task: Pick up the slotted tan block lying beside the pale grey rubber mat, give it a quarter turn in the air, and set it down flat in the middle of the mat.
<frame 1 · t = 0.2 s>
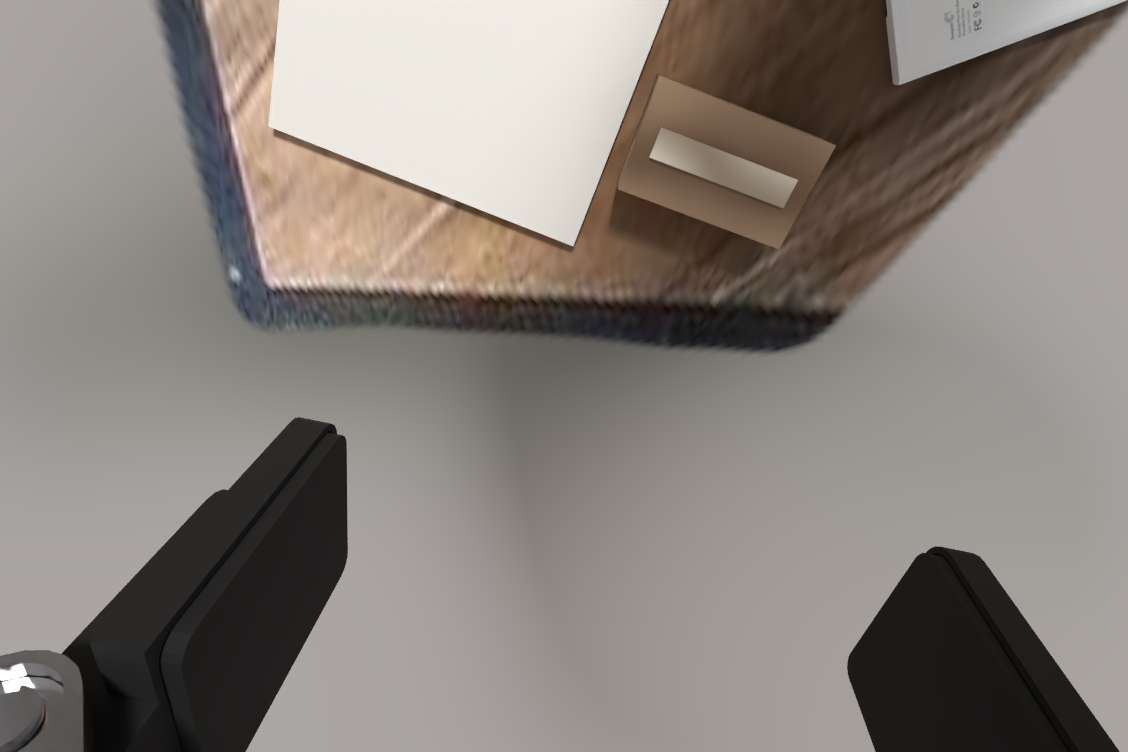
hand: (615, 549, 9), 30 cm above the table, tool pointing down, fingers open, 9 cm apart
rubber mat: (459, 50, 33), on the table
slotted tan block: (714, 157, 35), on the table
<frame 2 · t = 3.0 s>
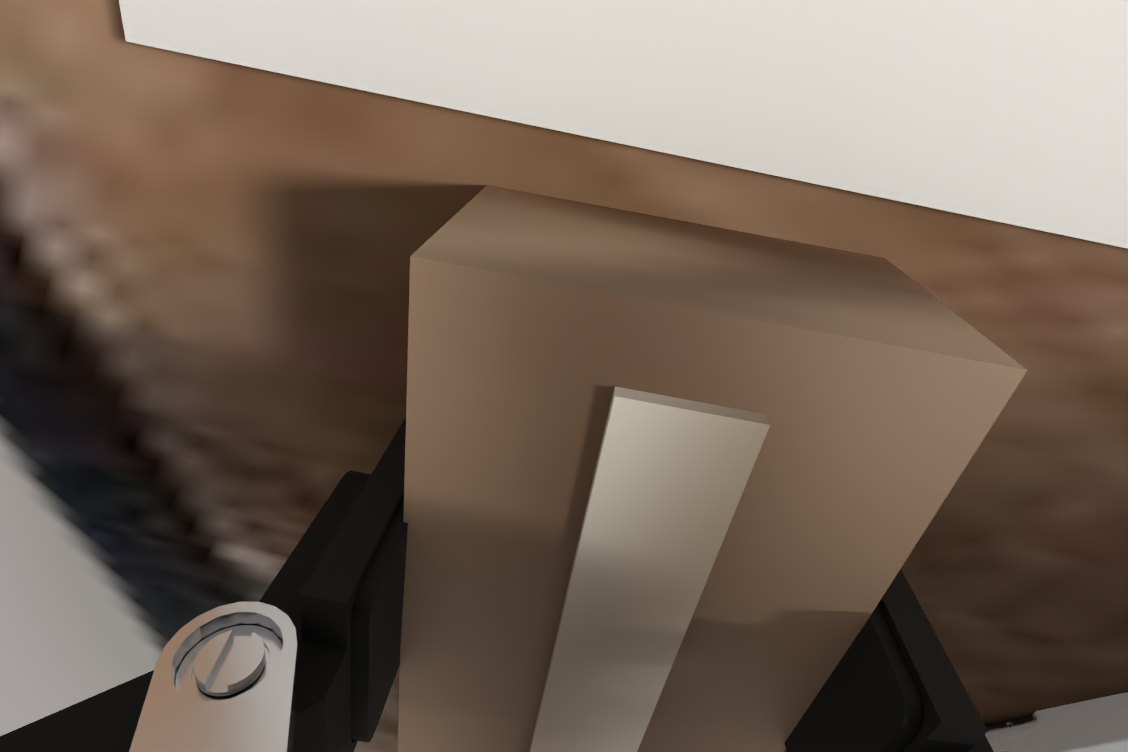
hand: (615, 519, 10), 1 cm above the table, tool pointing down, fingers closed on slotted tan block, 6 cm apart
slotted tan block: (617, 480, 11), on the table, touching gripper
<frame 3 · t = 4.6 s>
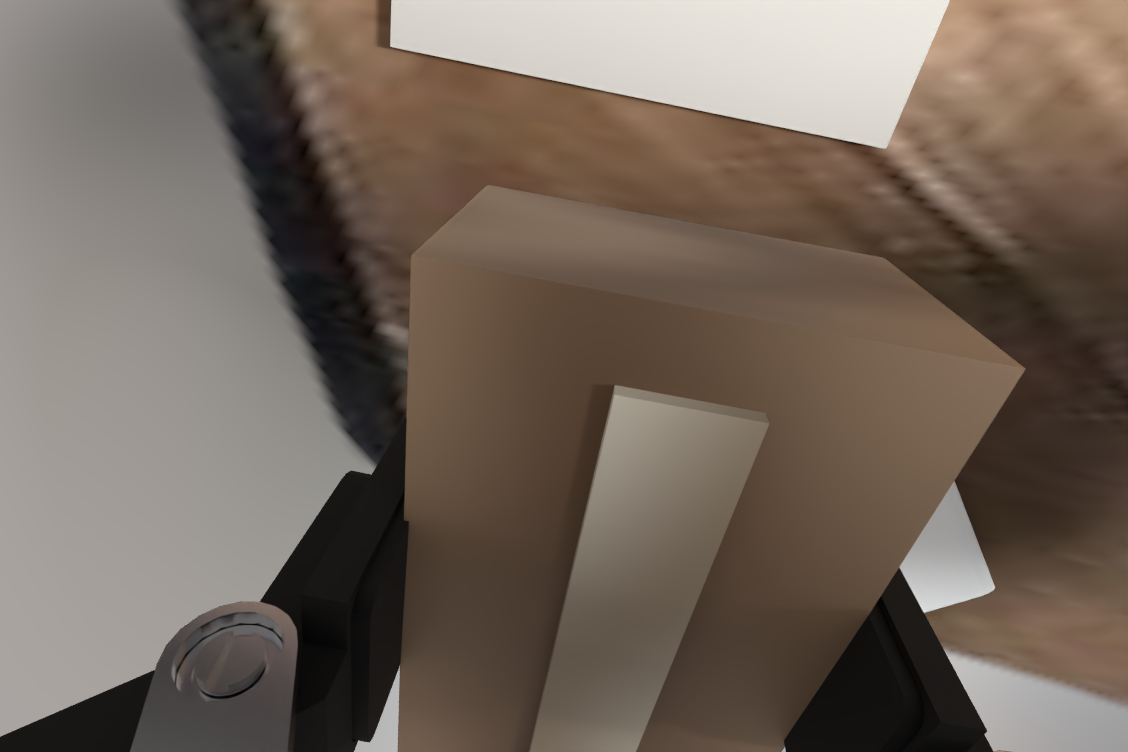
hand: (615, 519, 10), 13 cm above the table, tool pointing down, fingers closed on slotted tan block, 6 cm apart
external hard drive: (852, 506, 27), on the table
slotted tan block: (617, 479, 11), point 12 cm above the table, touching gripper
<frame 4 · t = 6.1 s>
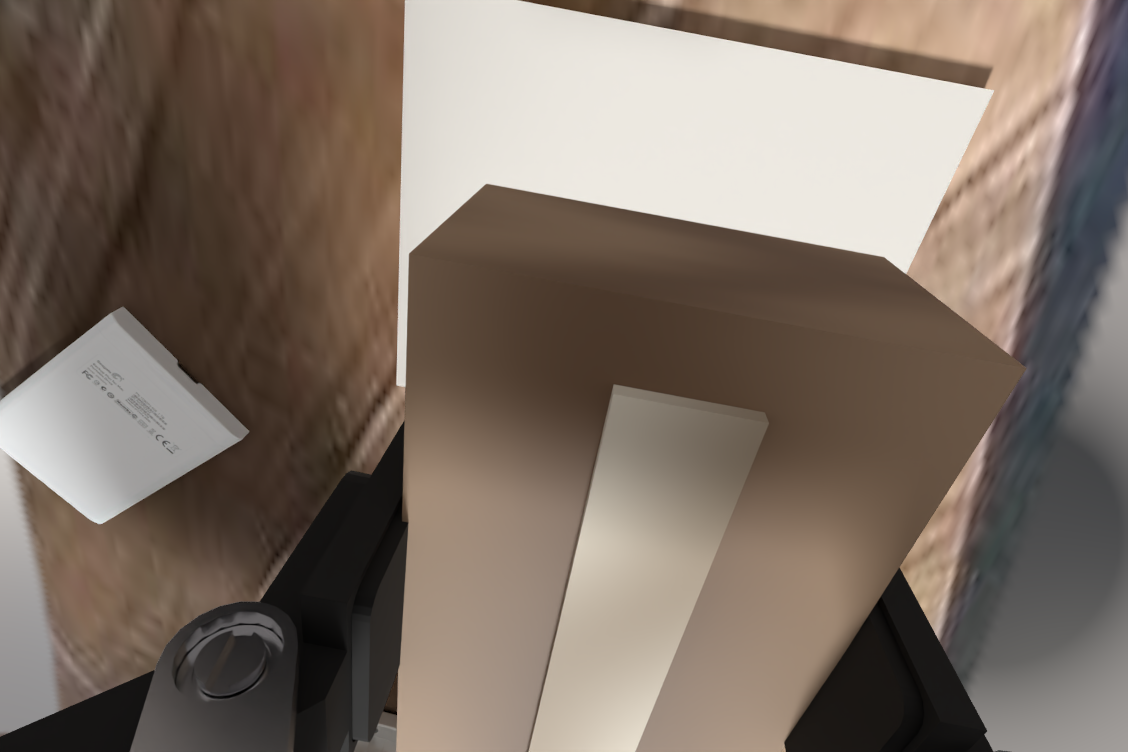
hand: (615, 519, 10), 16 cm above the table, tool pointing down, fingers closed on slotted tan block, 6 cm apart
external hard drive: (127, 414, 31), on the table
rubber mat: (644, 258, 24), on the table
slotted tan block: (616, 478, 11), point 15 cm above the table, touching gripper
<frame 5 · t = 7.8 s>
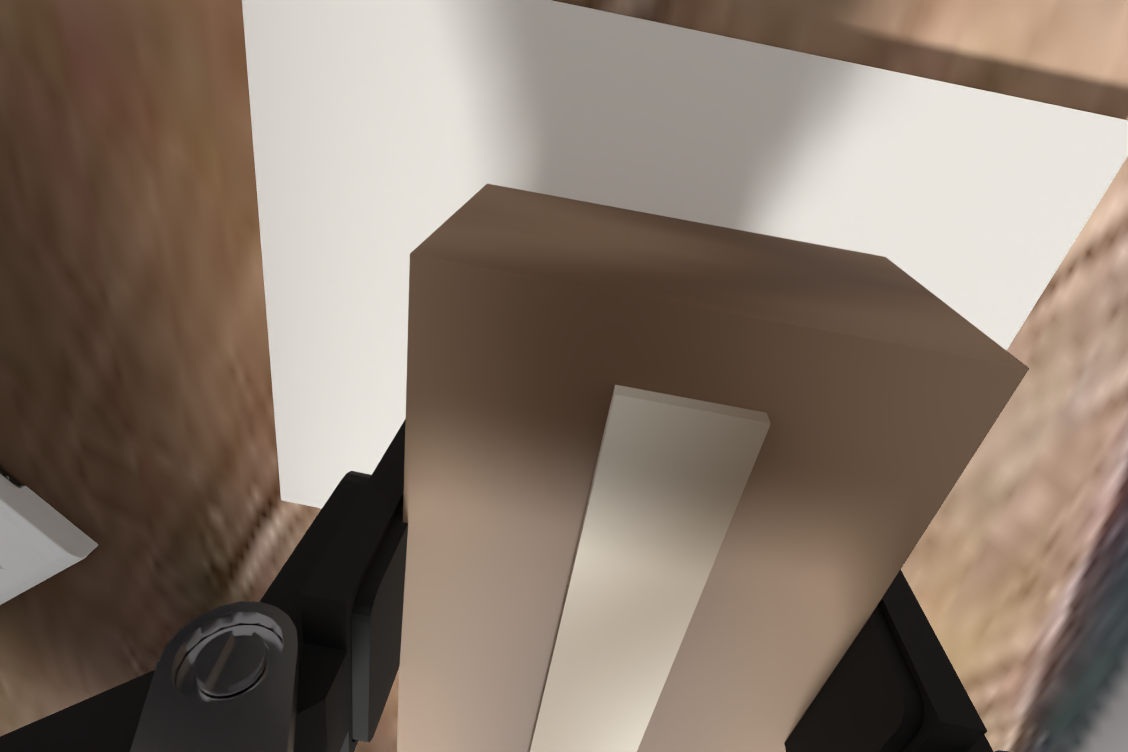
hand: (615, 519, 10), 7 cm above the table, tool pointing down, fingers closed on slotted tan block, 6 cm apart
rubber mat: (614, 346, 17), on the table
slotted tan block: (617, 479, 11), point 6 cm above the table, touching gripper
when the fingers open (3 cm above the table, at t = 9.1 s): slotted tan block drops 1 cm, resting on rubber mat.
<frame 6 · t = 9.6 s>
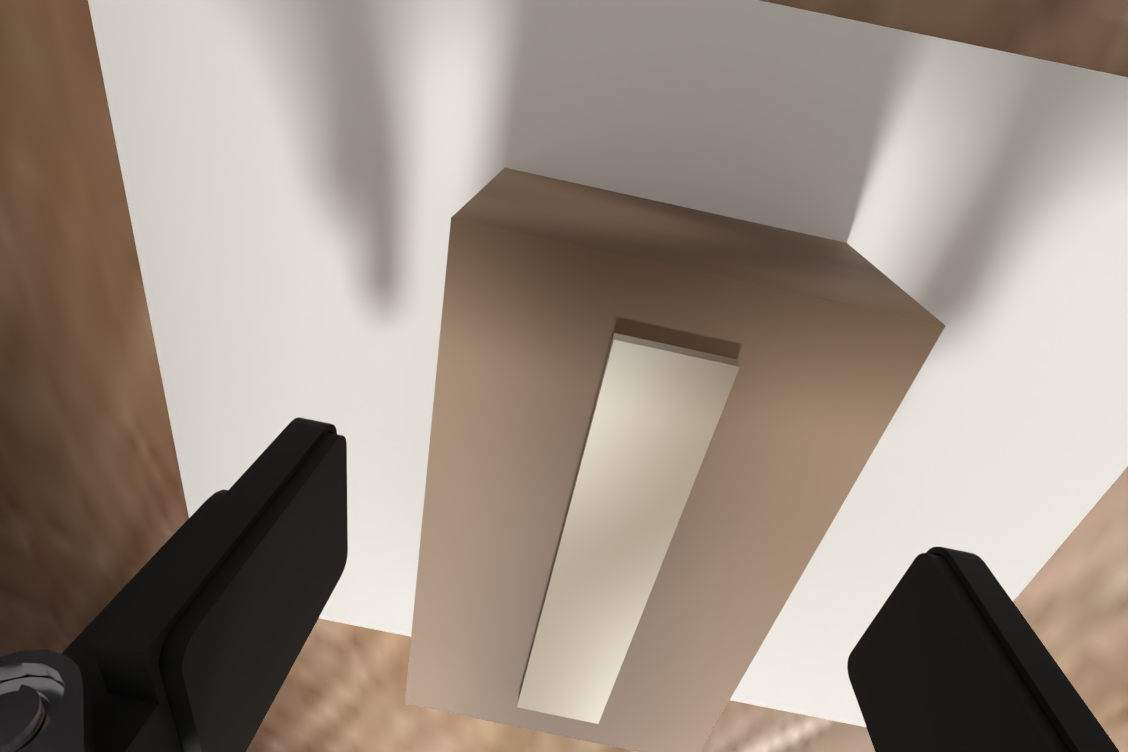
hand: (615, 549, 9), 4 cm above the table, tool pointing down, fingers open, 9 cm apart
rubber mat: (617, 422, 13), on the table
slotted tan block: (609, 438, 12), point 1 cm above the table, touching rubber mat
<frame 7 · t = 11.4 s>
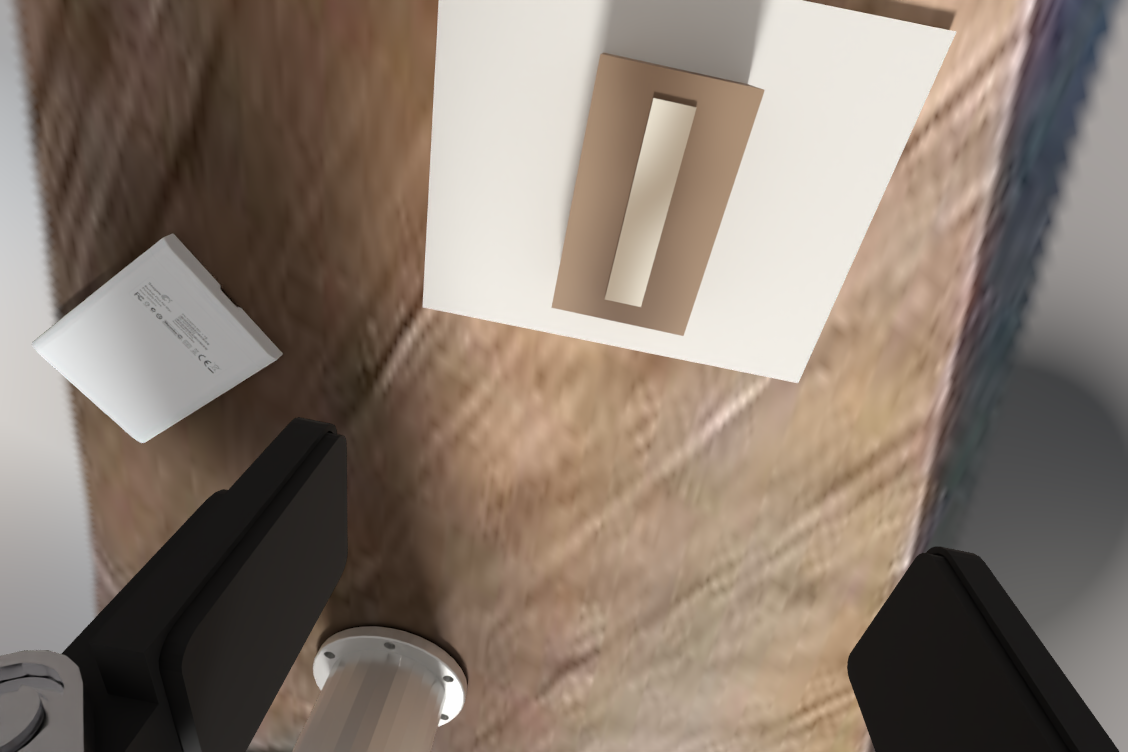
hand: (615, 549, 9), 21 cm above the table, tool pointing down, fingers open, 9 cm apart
external hard drive: (170, 339, 34), on the table
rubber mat: (647, 187, 27), on the table
slotted tan block: (644, 191, 26), point 1 cm above the table, touching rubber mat
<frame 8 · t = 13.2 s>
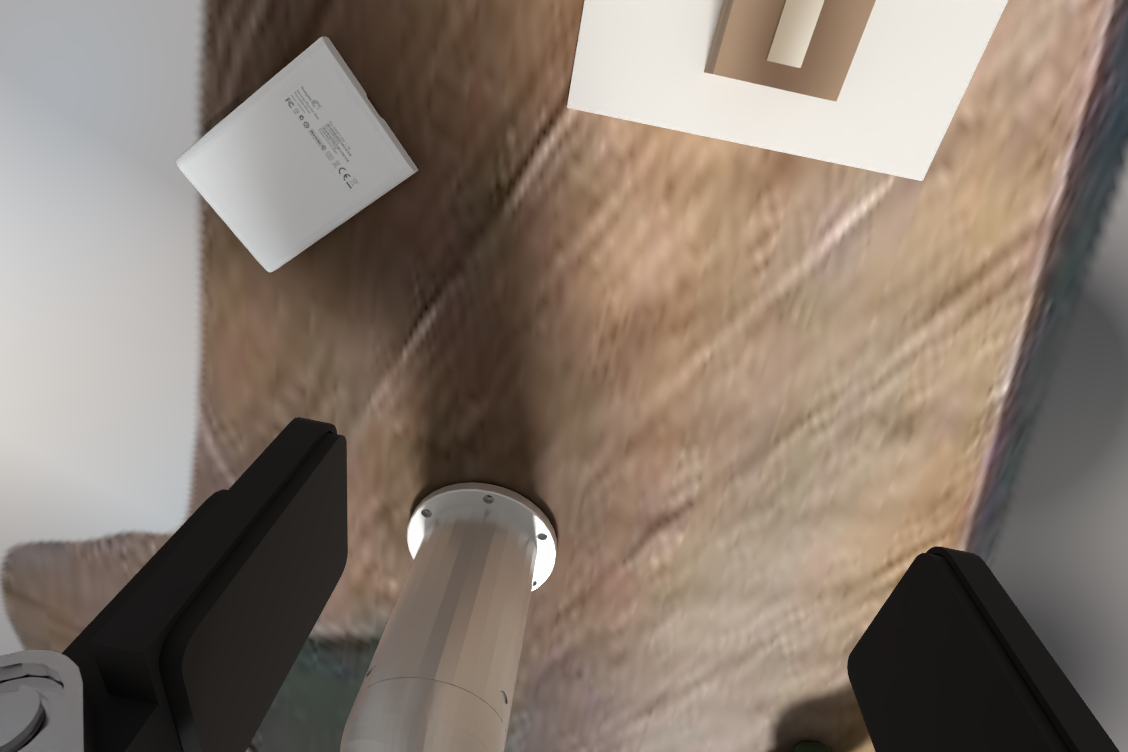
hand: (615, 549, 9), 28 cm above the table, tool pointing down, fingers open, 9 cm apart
external hard drive: (305, 162, 36), on the table
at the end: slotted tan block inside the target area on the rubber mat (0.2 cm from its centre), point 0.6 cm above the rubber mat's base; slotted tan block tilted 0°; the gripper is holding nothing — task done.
